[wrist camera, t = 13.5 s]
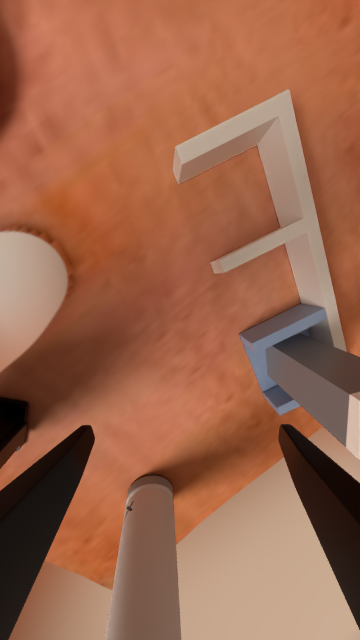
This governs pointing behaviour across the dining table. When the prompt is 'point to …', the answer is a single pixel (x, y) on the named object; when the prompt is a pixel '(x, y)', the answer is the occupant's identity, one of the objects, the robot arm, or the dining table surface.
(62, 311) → the dining table surface
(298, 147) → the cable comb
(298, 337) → the grey tall block
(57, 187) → the dining table surface
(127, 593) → the travel mug
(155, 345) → the dining table surface
